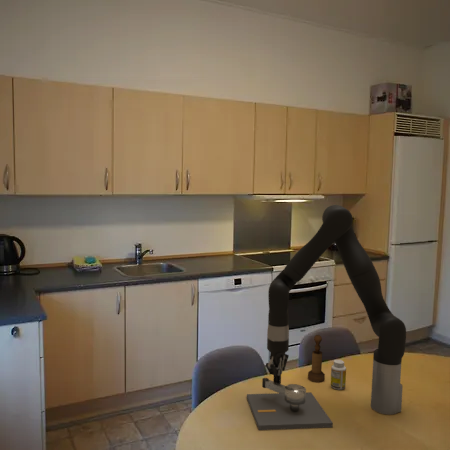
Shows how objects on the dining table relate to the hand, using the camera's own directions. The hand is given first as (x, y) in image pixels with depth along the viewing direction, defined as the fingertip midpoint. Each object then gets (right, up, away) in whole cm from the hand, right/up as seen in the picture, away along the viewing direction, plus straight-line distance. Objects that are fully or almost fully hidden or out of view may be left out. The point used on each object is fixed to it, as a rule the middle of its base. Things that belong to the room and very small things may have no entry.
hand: (277, 384), depth 159 cm
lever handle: (+1, -5, -4) cm, 7 cm away
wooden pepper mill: (+18, -6, +22) cm, 29 cm away
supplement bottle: (+25, -7, +15) cm, 30 cm away
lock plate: (+3, -7, -6) cm, 10 cm away
